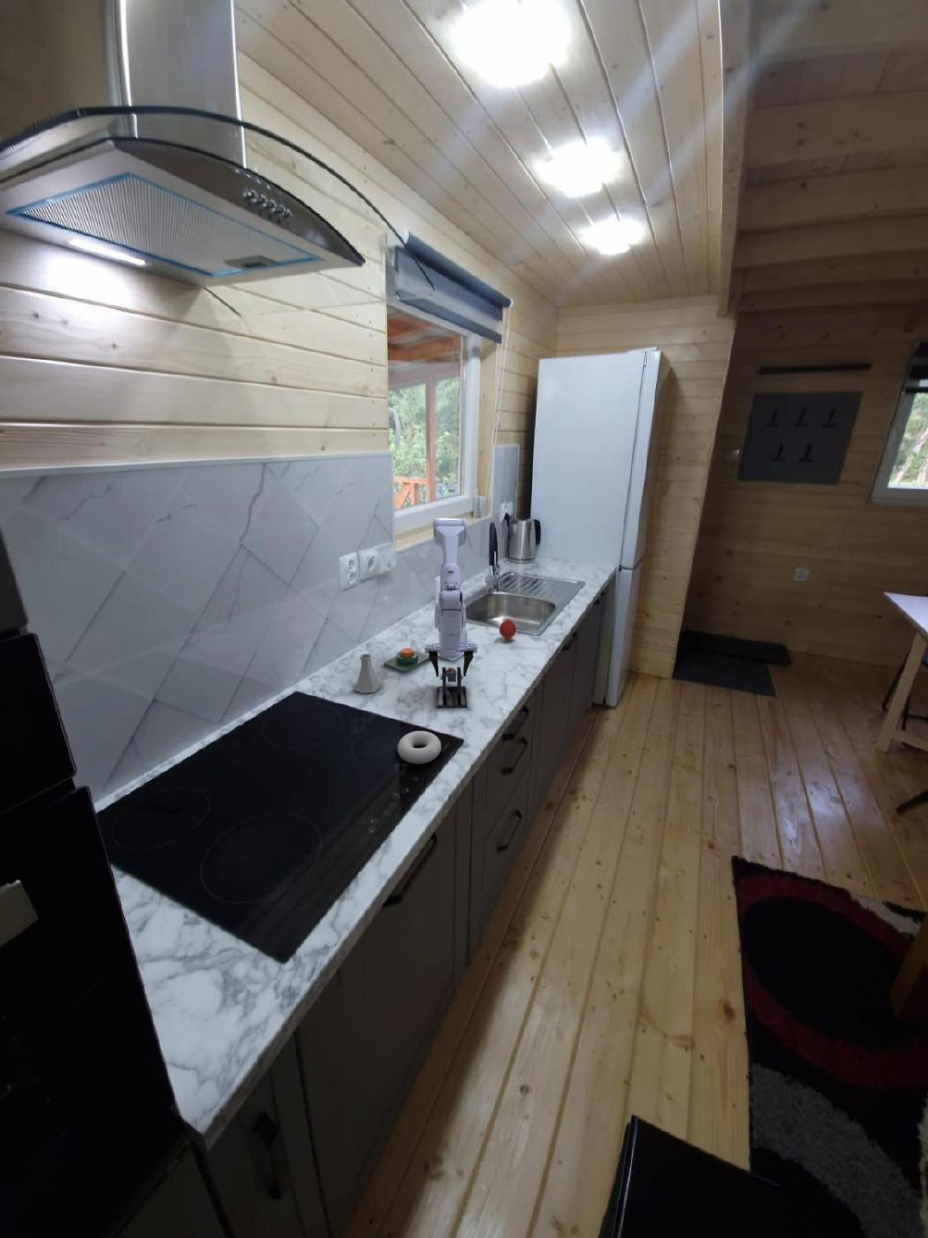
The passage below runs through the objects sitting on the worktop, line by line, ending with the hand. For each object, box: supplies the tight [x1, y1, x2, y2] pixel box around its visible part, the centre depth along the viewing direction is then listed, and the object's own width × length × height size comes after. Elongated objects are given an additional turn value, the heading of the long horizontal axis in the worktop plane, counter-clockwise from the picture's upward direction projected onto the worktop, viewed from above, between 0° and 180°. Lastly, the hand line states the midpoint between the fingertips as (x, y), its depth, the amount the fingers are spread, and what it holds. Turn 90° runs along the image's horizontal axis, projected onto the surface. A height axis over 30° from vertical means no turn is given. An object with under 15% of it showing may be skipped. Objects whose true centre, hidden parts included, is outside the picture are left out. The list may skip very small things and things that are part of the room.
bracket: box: [436, 666, 468, 709], centre depth 133 cm, size 10×8×9 cm
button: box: [400, 647, 414, 658], centre depth 153 cm, size 4×4×2 cm
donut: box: [397, 730, 442, 765], centre depth 113 cm, size 10×4×10 cm
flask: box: [354, 653, 381, 694], centre depth 139 cm, size 7×7×10 cm
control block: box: [383, 650, 431, 674], centre depth 154 cm, size 12×9×3 cm
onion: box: [498, 618, 517, 641], centre depth 170 cm, size 6×6×8 cm
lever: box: [446, 667, 457, 683], centre depth 137 cm, size 11×3×3 cm, turn 2°
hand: (451, 675), depth 141 cm, fingers open, 7 cm apart
